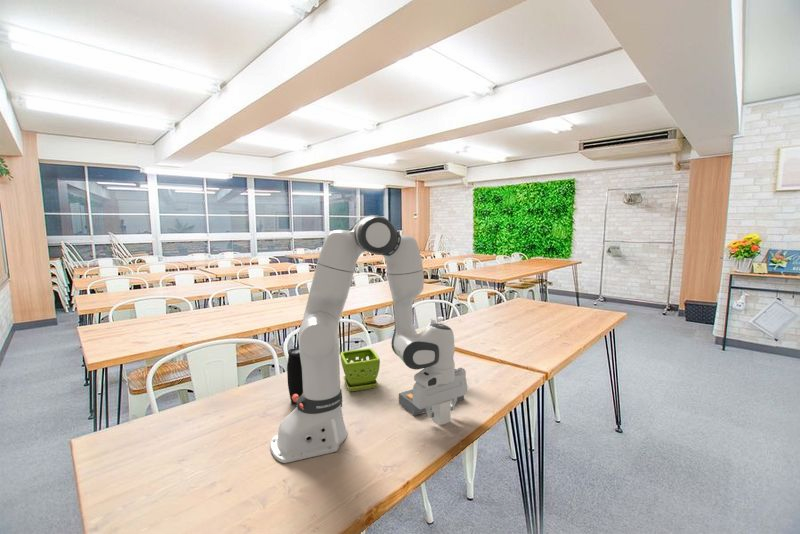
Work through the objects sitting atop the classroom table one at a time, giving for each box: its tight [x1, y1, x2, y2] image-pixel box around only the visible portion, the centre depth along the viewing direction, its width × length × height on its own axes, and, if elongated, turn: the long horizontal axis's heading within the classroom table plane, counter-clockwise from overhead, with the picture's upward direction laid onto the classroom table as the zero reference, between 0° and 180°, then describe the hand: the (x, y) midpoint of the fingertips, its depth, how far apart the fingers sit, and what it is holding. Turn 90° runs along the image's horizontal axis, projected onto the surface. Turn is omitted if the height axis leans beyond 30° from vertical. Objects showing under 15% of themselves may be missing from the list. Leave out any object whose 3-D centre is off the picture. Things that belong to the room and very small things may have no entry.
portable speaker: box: [286, 347, 303, 406], centre depth 133 cm, size 9×9×20 cm
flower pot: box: [339, 347, 381, 392], centre depth 146 cm, size 14×14×13 cm
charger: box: [431, 400, 452, 426], centre depth 119 cm, size 4×4×7 cm
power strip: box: [398, 388, 465, 417], centre depth 132 cm, size 22×10×5 cm, turn 121°
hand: (441, 413), depth 119 cm, fingers open, 7 cm apart
